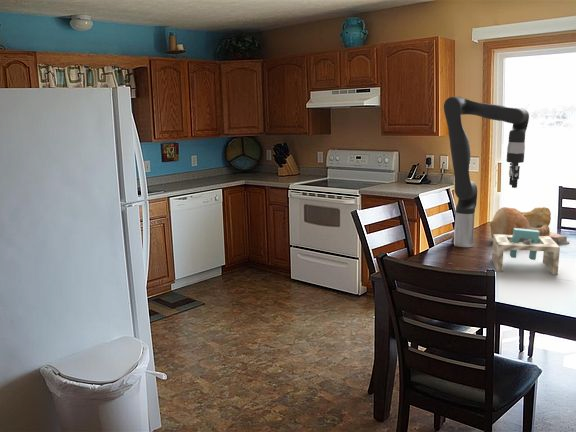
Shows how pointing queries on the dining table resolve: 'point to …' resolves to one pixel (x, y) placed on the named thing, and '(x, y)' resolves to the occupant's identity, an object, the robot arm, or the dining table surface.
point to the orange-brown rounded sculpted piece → (512, 223)
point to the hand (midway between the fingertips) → (512, 186)
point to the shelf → (545, 245)
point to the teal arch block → (525, 235)
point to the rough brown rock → (537, 217)
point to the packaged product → (559, 238)
